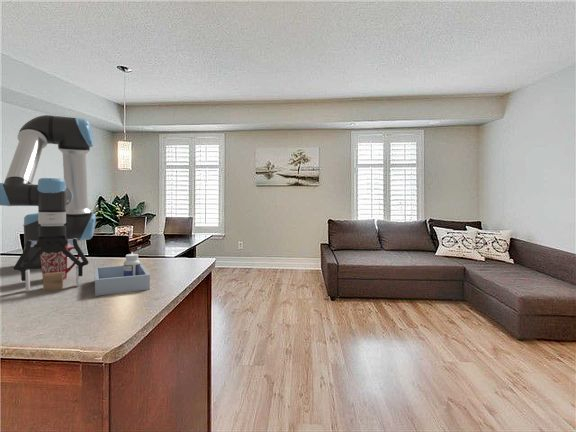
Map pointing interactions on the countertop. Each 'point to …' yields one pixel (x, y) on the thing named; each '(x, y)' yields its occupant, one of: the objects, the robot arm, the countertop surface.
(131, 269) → the pill bottle
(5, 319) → the countertop surface
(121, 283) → the tote
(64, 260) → the mug
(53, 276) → the wooden cube
